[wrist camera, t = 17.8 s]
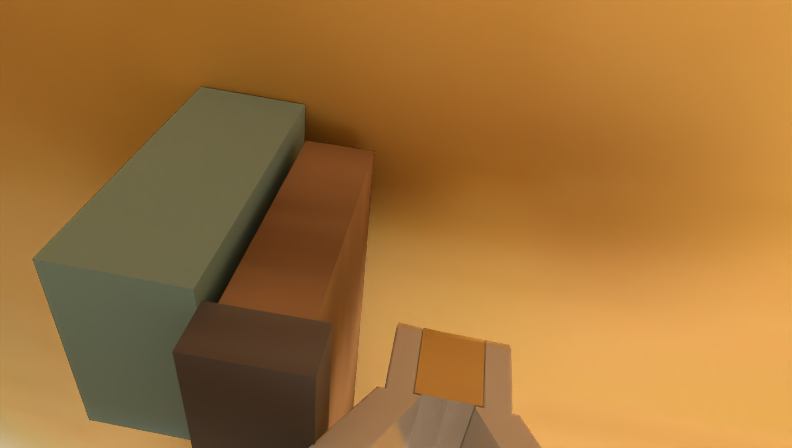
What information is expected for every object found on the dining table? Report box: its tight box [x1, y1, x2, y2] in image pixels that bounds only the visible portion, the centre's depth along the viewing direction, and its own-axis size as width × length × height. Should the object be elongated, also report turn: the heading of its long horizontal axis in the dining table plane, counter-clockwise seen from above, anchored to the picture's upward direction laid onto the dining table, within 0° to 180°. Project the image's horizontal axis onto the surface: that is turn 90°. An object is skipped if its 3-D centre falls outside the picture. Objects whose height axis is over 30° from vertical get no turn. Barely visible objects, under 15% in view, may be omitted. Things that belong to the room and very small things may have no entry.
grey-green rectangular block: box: [33, 87, 305, 440], centre depth 12 cm, size 4×2×6 cm, turn 173°
